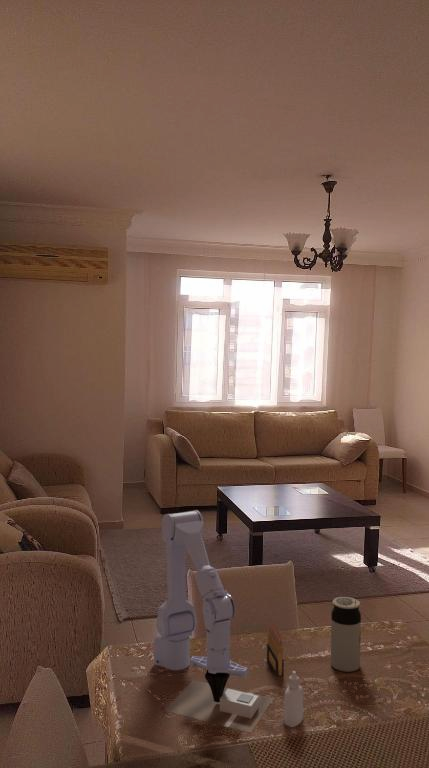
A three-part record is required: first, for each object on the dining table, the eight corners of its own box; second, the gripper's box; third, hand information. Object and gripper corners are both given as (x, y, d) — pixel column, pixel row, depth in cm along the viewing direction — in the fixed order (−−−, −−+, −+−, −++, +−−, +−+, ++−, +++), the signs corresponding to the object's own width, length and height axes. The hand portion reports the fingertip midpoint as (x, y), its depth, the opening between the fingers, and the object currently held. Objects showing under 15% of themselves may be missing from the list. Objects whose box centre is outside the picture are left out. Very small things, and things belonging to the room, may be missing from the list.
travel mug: (327, 669, 180) (328, 604, 179) (333, 656, 188) (334, 594, 187) (357, 675, 177) (358, 609, 176) (362, 661, 185) (363, 598, 184)
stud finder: (219, 710, 158) (219, 697, 158) (227, 700, 162) (227, 687, 162) (251, 718, 155) (251, 705, 154) (258, 707, 159) (258, 695, 159)
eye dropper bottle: (278, 719, 156) (278, 670, 155) (298, 714, 158) (299, 665, 158) (288, 729, 152) (288, 678, 151) (308, 723, 154) (309, 673, 154)
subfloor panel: (164, 714, 158) (164, 710, 158) (193, 683, 172) (193, 679, 172) (250, 737, 149) (250, 733, 149) (273, 702, 164) (273, 698, 164)
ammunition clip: (283, 679, 175) (284, 634, 174) (277, 679, 175) (277, 635, 174) (273, 660, 186) (273, 618, 185) (266, 660, 185) (267, 618, 185)
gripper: (184, 646, 159) (184, 701, 160) (240, 658, 153) (239, 715, 154) (196, 635, 166) (196, 687, 167) (250, 646, 160) (250, 700, 161)
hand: (218, 700), depth 161 cm, fingers closed
